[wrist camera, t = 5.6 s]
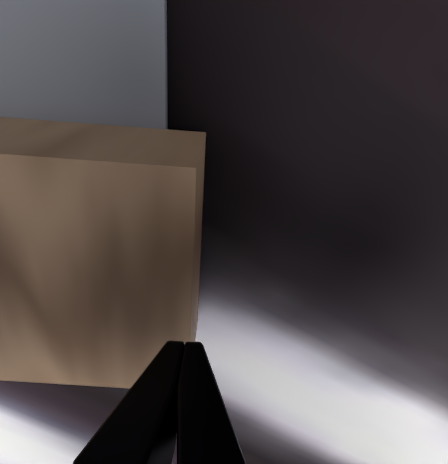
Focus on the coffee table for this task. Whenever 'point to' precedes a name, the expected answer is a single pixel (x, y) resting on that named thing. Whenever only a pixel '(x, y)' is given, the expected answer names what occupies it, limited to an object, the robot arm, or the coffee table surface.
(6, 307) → the brown wooden block
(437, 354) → the coffee table surface
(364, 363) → the coffee table surface
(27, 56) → the rubber mat
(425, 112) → the coffee table surface
